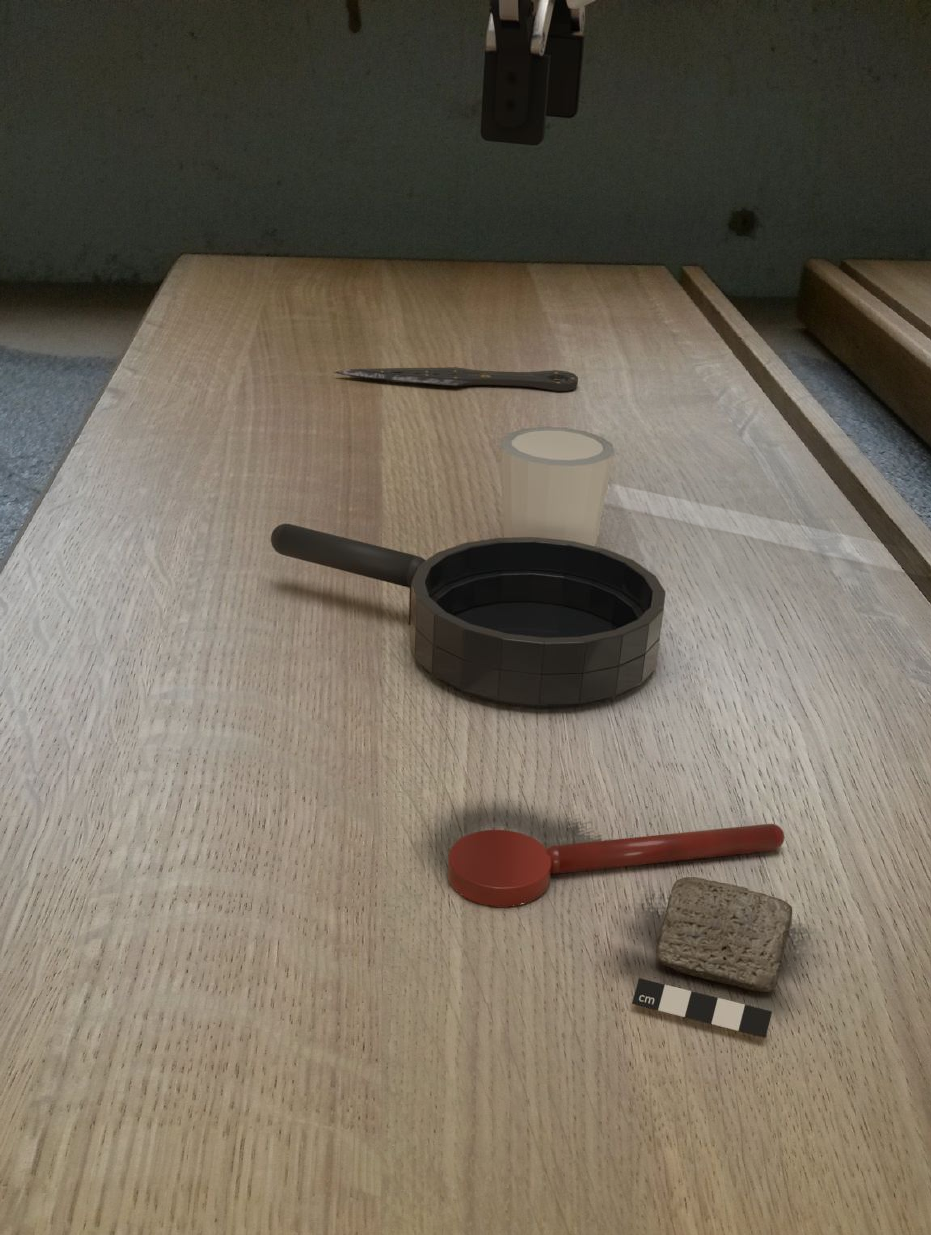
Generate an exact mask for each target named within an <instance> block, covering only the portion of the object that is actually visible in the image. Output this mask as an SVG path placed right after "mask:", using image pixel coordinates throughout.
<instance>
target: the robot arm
mask: <svg viewBox="0 0 931 1235" xmlns="http://www.w3.org/2000/svg"><path fill="white" fill-rule="evenodd" d="M595 1H596V0H489V6H490V8H489V14H490V16H489V20H488V25H487V30H486V37H485V49H486V50H484V59H483V60H484V62H483V78H482V80H483V81H482V98H481V117H480V136H481V138H482V139H483V141H486V142H493V143H494V142H495V143H505V144H513V145H524V146H538V145H540V144H541V143H543V141H544V139H545V135H546V134H545V133H546V132H545V131H546V121H547V117H550V118H561V119H573V118H574V117H575V116H576V115H577V114H578V113H579V106H580V96H581V87H582V86H581V84H582V74H583V73H582V72H583V63H584V53H585V40H586V36H585V35H583V34H584V29H585V22H586V6H587V5H590V4H592V3H594V2H595Z"/></svg>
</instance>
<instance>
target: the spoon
mask: <svg viewBox="0 0 931 1235" xmlns="http://www.w3.org/2000/svg"><path fill="white" fill-rule="evenodd" d="M784 842H785V832H784V830H783V829H782V827H781V826H780V825H777V824H775V823H764V824H762V823H761V824H753V825H743V826H734V827H725V828H724V827H723V828H714V829H704V830H694V831H684V832H675V833H665V834H656V835H647V836H646V835H645V836H636V837H627V838H626V837H625V838H617V839H616V838H615V839H608V840H599V841H597V840H596V841H587V842H578V843H577V842H576V843H568V844H559V845H557V844H556V845H551V846H549V847H547V848H546V846H545V845H544V844H542V843H541V842H540V841H538V840H536V839H535V838H533V837H531V836H529V835H526V834H525V833H521V832H518V831H513V830H506V829H486V830H485V829H484V830H478V831H476V832H472V833H469V834H467V835H464V836H463V837H461V838H459V839H458V840H456V842H454V843H453V845H452V846H451V847H450V849H449V852H448V855H447V879H448V882H449V884H450V886H451V887H452V889H453V890H454V889H455V890H457V892H458V893H457V892H456V893H457V894H459V893H460V894H462V896H461V897H463V898H465V899H466V898H467V899H466V900H468V899H470V900H469V901H470V902H474V903H476V904H479V903H482V904H481V905H483V904H484V905H483V906H487V905H492V906H491V907H495V906H496V907H497V908H509V907H508V906H512V907H517V905H519V906H521V905H520V904H521V903H526V904H529V903H532V902H533V901H532V900H534V901H535V899H536V898H537V899H539V898H540V897H541V896H543V895H544V894H545V893H546V891H547V890H548V888H549V886H550V882H551V874H555V875H556V874H566V873H567V874H568V873H574V872H575V873H576V872H584V871H594V870H602V869H612V868H622V867H631V866H640V865H641V866H642V865H650V864H659V863H668V862H670V863H671V862H678V861H688V860H698V859H705V858H706V859H707V858H714V857H725V856H734V855H742V854H743V855H744V854H753V853H763V852H772V851H776V850H778V849H779V848H781V847H782V846H783V844H784ZM455 890H454V891H455ZM545 890H546V891H545ZM543 893H544V894H543ZM460 894H459V895H460ZM540 895H541V896H540ZM538 897H539V898H538ZM537 899H536V900H537ZM531 901H532V902H531ZM528 902H529V903H528ZM513 905H514V906H513Z"/></svg>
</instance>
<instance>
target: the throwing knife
mask: <svg viewBox="0 0 931 1235" xmlns="http://www.w3.org/2000/svg"><path fill="white" fill-rule="evenodd" d="M333 374H339V375H343V376H347V377H348V376H349V377H351V378H360V379H370V380H381V381H389V382H390V381H391V382H399V383H400V382H401V383H413V384H423V385H437V386H448V387H449V386H450V387H465V386H467V387H468V386H509V387H512V386H514V387H528V388H535V389H537V388H538V389H543V390H544V389H545V390H550V391H559V392H560V391H571V390H575V389H577V387H578V385H579V377H578V376H577V375H576V374H575V373H573V372H570V371H565V370H558V369H553V370H540V371H539V370H538V371H498V370H481V369H480V370H479V369H478V370H477V369H469V368H464V367H458V366H457V367H456V366H455V367H454V366H453V367H452V366H450V367H389V368H387V367H386V368H382V367H381V368H353V369H349V370H348V369H347V370H339V371H333Z"/></svg>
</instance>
